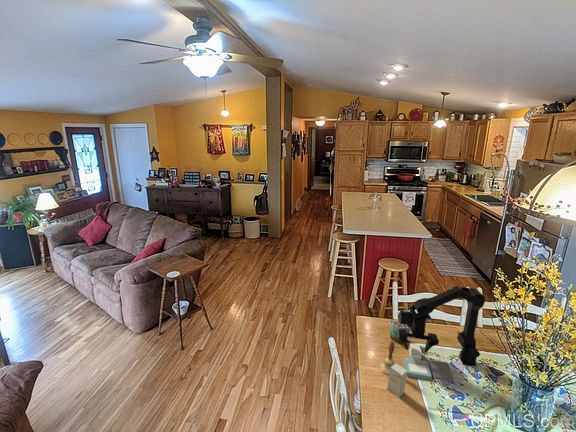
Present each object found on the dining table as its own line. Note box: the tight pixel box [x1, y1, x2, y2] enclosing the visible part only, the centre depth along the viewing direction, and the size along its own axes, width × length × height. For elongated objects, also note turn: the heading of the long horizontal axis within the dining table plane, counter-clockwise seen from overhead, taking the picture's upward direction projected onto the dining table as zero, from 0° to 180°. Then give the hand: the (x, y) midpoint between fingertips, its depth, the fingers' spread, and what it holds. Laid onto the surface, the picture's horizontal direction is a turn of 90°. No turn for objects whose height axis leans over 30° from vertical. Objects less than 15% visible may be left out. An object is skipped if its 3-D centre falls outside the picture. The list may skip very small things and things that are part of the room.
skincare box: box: [387, 362, 408, 398], centre depth 137 cm, size 6×4×12 cm
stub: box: [408, 343, 423, 361], centre depth 158 cm, size 4×7×6 cm, turn 167°
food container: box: [388, 319, 411, 344], centre depth 171 cm, size 12×6×10 cm, turn 62°
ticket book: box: [403, 357, 433, 381], centre depth 150 cm, size 11×10×2 cm
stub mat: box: [427, 359, 456, 383], centre depth 150 cm, size 10×12×1 cm
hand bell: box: [379, 340, 396, 376], centre depth 149 cm, size 8×8×16 cm
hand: (415, 350), depth 158 cm, fingers open, 9 cm apart
